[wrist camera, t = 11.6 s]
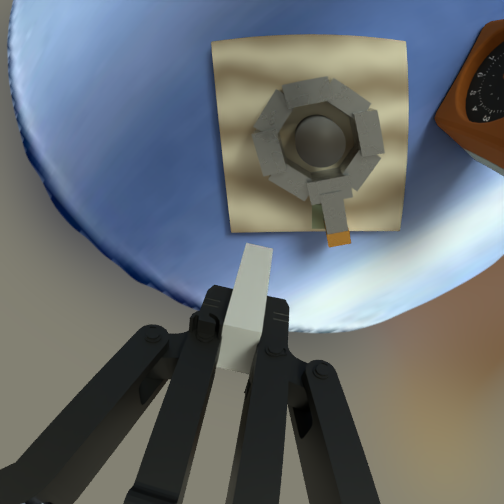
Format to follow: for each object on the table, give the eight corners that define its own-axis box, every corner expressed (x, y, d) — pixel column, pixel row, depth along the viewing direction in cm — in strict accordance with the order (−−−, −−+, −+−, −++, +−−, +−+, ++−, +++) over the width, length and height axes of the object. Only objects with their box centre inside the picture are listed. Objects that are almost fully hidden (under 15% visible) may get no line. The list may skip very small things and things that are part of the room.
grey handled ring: (245, 94, 31) (239, 95, 28) (360, 71, 28) (368, 70, 25) (285, 239, 40) (284, 255, 36) (385, 220, 37) (394, 235, 33)
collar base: (214, 43, 30) (198, 35, 25) (401, 42, 27) (422, 36, 22) (233, 227, 42) (223, 251, 36) (396, 226, 39) (411, 249, 33)
